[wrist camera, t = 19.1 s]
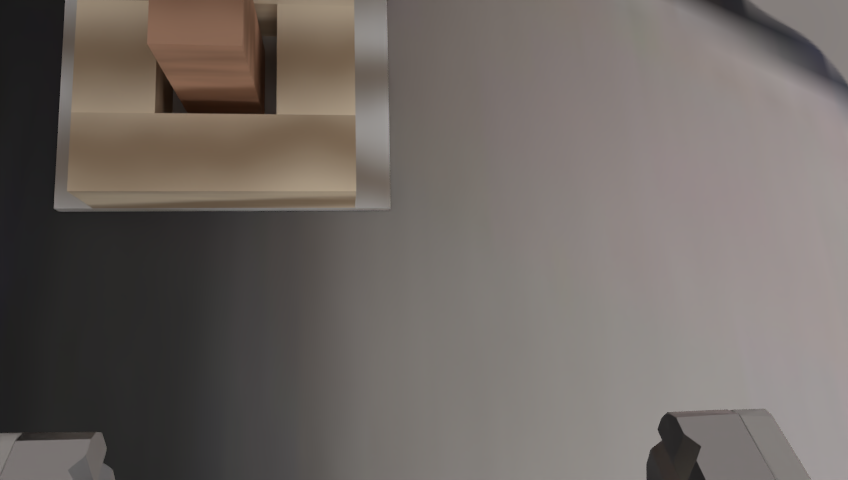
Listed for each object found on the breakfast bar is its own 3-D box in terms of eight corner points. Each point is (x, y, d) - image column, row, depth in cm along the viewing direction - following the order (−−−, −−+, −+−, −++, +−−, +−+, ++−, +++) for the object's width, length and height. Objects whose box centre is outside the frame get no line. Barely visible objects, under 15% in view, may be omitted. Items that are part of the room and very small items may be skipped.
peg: (264, 119, 43) (242, 45, 34) (191, 119, 43) (147, 43, 33) (265, 52, 44) (243, -40, 34) (193, 50, 44) (150, -43, 34)
